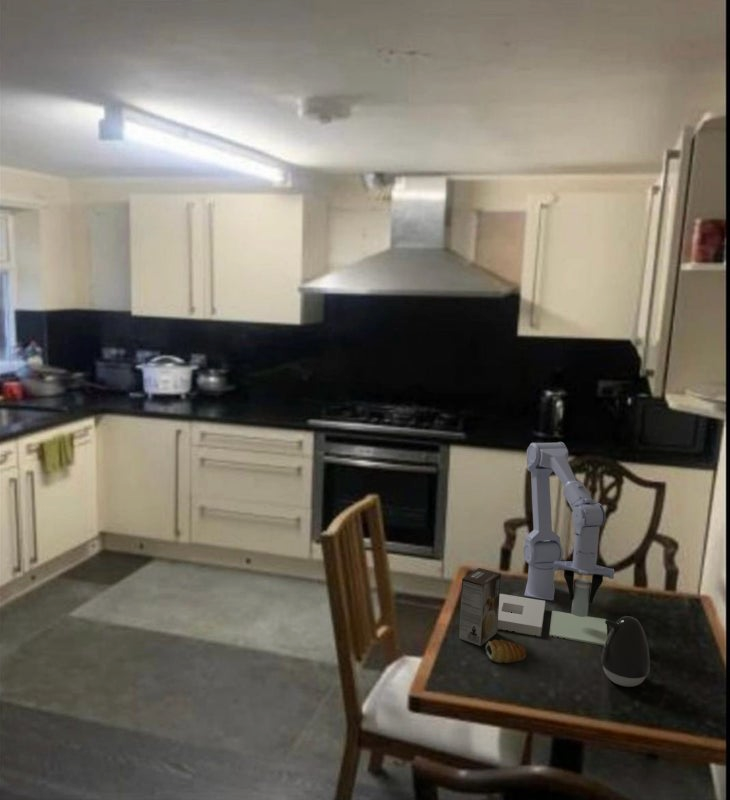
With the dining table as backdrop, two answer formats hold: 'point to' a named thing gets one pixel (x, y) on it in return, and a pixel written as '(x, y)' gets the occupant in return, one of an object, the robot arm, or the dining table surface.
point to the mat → (578, 628)
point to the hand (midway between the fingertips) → (581, 600)
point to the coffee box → (479, 606)
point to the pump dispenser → (626, 652)
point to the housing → (521, 614)
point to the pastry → (505, 651)
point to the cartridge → (581, 597)
